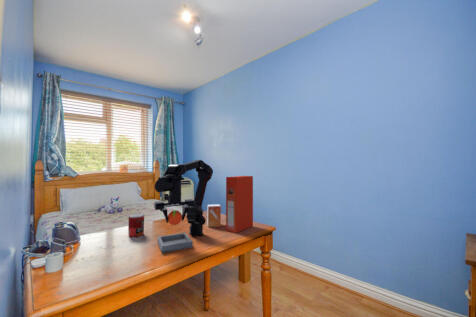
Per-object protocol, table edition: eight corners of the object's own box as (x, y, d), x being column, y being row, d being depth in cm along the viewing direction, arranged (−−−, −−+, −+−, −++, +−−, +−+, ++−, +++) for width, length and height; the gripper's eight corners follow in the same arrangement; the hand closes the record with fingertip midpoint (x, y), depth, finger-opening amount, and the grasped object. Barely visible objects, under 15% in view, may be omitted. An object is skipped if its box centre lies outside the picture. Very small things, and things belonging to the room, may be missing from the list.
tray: (185, 238, 113) (185, 232, 113) (192, 247, 101) (192, 241, 101) (157, 242, 107) (157, 236, 107) (161, 253, 94) (161, 246, 94)
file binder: (225, 230, 126) (226, 176, 127) (242, 224, 140) (243, 175, 141) (236, 233, 121) (236, 177, 122) (252, 226, 135) (253, 176, 136)
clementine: (181, 227, 101) (181, 212, 101) (166, 227, 99) (166, 212, 99) (182, 222, 108) (182, 208, 108) (168, 223, 107) (168, 208, 107)
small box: (207, 227, 133) (208, 206, 133) (207, 224, 139) (207, 204, 139) (220, 226, 134) (221, 205, 135) (219, 223, 141) (219, 204, 141)
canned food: (137, 237, 113) (138, 217, 113) (124, 236, 114) (125, 216, 115) (146, 233, 120) (147, 213, 121) (134, 232, 122) (134, 213, 122)
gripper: (189, 187, 116) (189, 216, 115) (153, 189, 107) (152, 220, 107) (195, 189, 106) (195, 221, 106) (155, 191, 97) (155, 226, 97)
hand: (174, 221), depth 104 cm, fingers closed on clementine, 7 cm apart
